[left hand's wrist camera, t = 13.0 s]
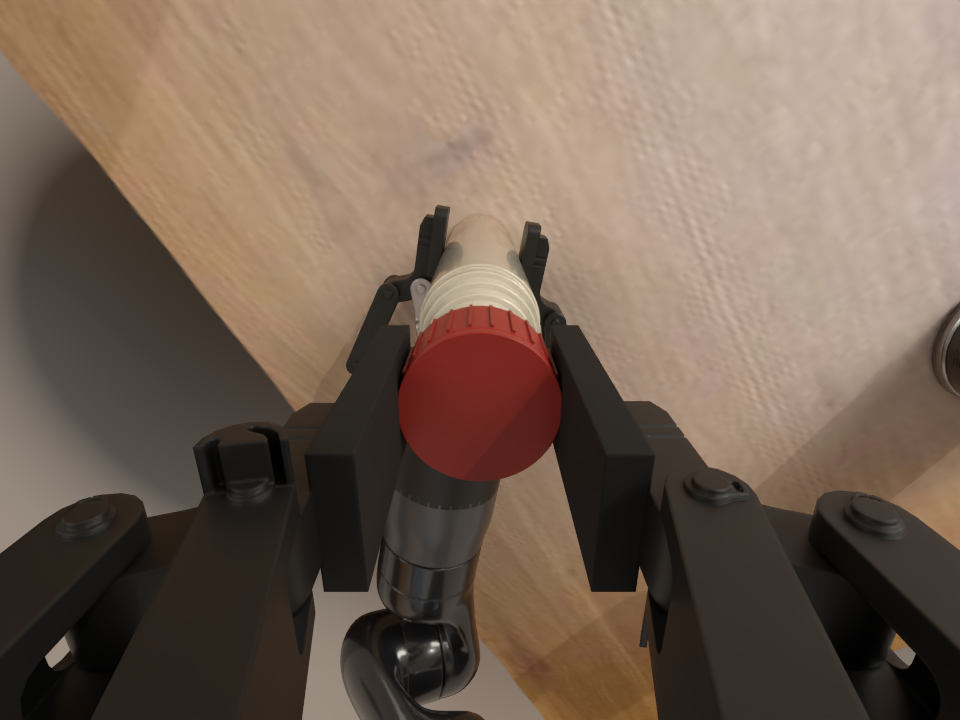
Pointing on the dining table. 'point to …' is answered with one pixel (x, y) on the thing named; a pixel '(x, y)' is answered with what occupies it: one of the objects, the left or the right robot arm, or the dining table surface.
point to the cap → (479, 394)
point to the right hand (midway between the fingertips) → (487, 216)
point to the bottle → (479, 274)
